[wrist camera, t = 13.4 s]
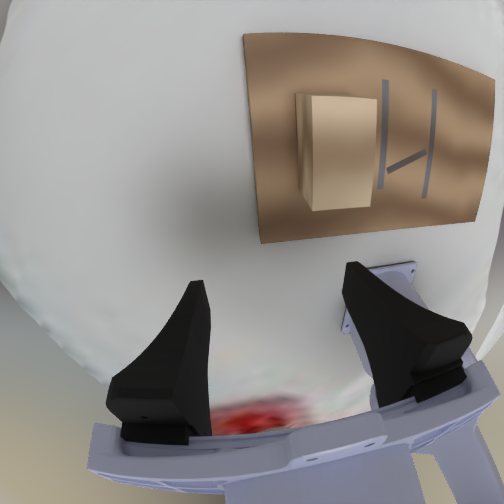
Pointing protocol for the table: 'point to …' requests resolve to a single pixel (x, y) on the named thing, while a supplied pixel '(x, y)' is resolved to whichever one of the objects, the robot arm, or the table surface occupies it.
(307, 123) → the block
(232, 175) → the table surface
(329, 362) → the table surface
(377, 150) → the board
